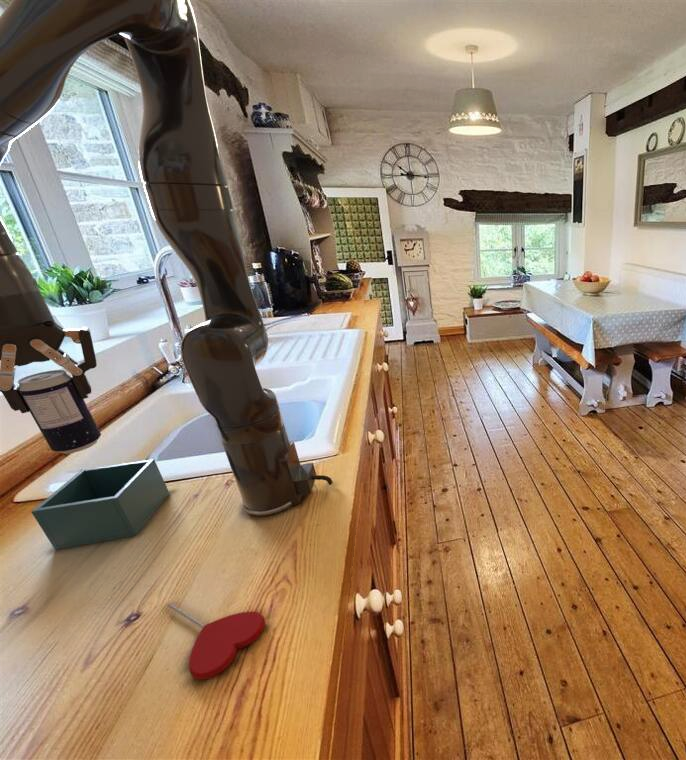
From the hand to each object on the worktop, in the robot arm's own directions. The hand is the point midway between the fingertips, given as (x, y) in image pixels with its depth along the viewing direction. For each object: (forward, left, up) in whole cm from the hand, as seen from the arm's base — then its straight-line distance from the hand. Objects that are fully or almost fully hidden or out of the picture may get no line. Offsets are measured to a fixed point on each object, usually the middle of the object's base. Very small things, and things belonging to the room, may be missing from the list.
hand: (56, 403), depth 61 cm
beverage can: (0, 0, -8) cm, 8 cm away
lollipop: (-23, +27, -22) cm, 42 cm away
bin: (0, 0, -22) cm, 22 cm away
